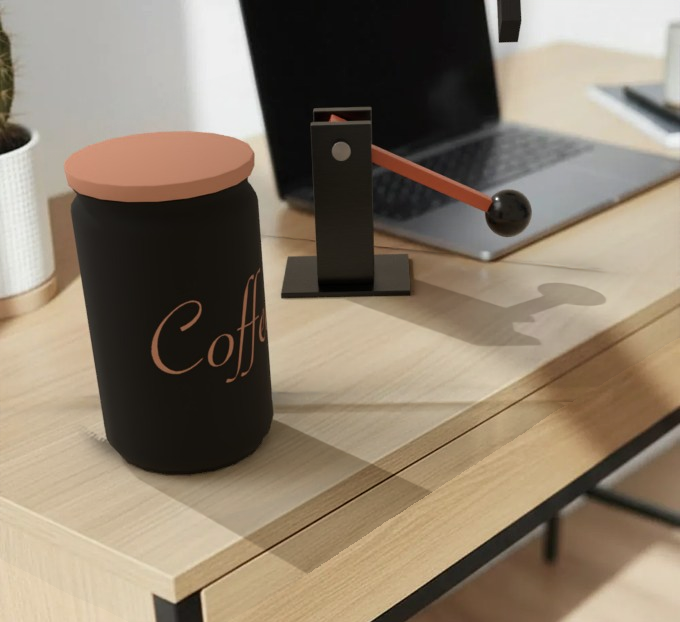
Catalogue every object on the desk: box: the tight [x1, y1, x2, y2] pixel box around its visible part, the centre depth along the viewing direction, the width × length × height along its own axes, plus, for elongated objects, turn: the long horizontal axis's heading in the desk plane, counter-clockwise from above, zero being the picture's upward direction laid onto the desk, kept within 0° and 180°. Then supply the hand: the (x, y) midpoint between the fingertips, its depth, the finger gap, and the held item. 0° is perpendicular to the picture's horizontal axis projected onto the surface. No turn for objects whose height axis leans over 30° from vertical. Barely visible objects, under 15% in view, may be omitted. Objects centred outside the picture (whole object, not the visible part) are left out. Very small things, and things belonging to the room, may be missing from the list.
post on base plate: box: [280, 106, 411, 299], centre depth 93 cm, size 10×8×14 cm
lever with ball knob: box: [329, 114, 533, 238], centre depth 92 cm, size 17×4×4 cm, turn 88°
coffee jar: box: [63, 130, 274, 476], centre depth 72 cm, size 11×11×18 cm
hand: (509, 31), depth 92 cm, fingers closed
